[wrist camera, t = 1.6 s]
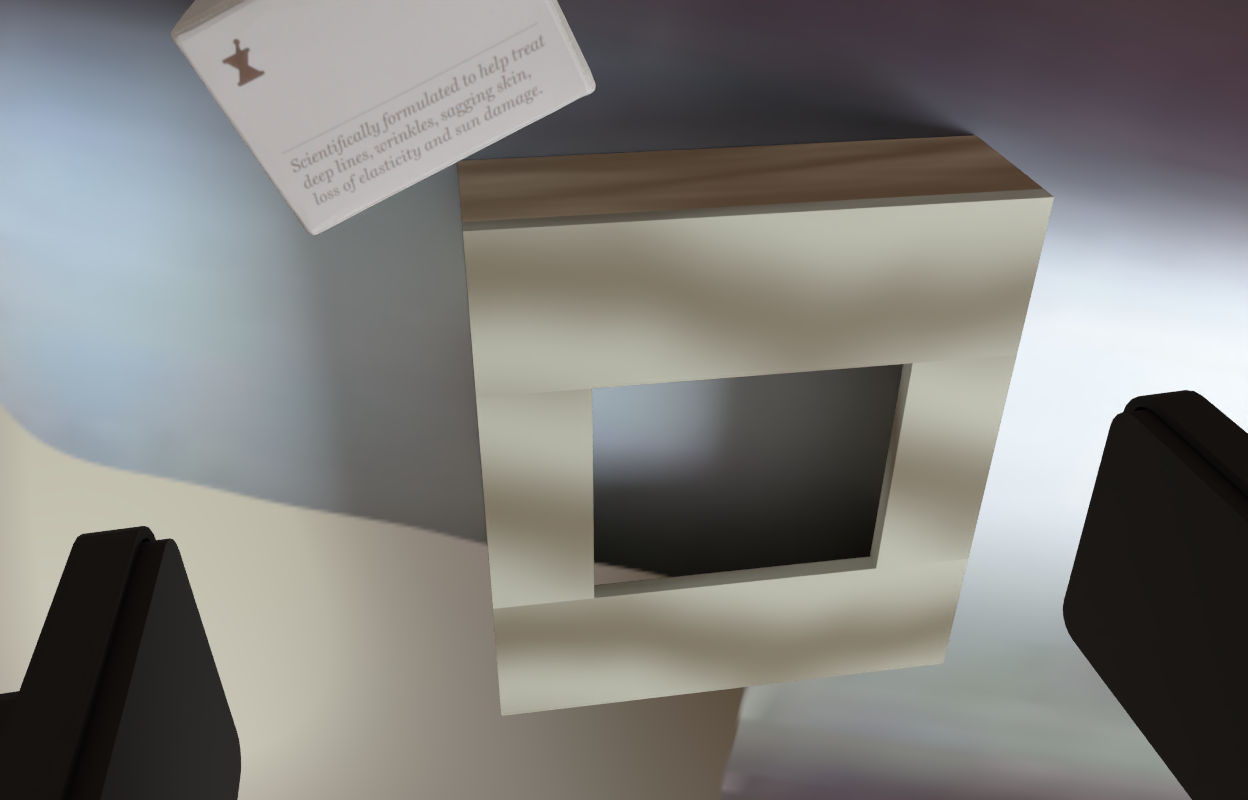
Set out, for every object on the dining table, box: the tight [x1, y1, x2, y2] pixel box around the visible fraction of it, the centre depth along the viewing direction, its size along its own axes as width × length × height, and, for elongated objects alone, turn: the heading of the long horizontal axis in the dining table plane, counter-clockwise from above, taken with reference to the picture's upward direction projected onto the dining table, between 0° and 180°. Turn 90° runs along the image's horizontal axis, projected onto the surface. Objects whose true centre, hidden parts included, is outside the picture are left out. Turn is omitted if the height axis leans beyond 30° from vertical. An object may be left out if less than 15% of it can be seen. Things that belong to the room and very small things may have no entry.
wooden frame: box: [457, 135, 1054, 716], centre depth 35 cm, size 18×16×5 cm
